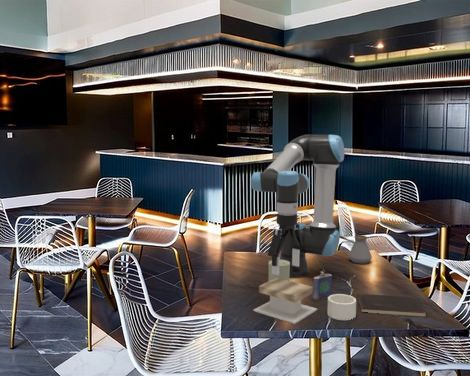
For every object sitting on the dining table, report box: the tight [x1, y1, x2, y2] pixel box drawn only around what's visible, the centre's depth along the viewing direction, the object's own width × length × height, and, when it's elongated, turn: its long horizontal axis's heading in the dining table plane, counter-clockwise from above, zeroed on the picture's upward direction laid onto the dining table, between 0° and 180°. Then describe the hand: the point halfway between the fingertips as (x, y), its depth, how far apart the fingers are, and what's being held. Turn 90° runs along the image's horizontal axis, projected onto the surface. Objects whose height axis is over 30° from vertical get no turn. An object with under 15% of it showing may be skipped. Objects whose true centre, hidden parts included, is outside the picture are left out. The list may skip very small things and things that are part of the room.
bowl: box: [327, 293, 357, 321], centre depth 173 cm, size 10×10×6 cm
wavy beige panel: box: [258, 278, 313, 303], centre depth 176 cm, size 16×12×2 cm
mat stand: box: [253, 295, 318, 325], centre depth 177 cm, size 18×16×7 cm
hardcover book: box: [357, 293, 427, 318], centre depth 181 cm, size 16×23×2 cm
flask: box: [312, 270, 333, 301], centre depth 190 cm, size 9×3×11 cm, turn 121°
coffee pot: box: [340, 235, 373, 265], centre depth 239 cm, size 21×12×15 cm, turn 88°
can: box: [267, 259, 291, 282], centre depth 200 cm, size 9×9×12 cm
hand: (285, 270), depth 175 cm, fingers open, 13 cm apart
